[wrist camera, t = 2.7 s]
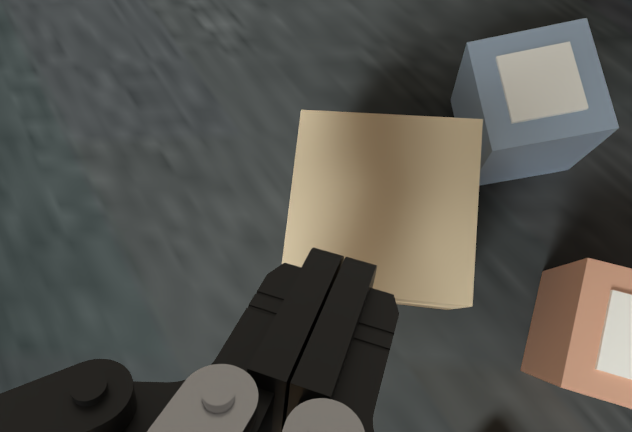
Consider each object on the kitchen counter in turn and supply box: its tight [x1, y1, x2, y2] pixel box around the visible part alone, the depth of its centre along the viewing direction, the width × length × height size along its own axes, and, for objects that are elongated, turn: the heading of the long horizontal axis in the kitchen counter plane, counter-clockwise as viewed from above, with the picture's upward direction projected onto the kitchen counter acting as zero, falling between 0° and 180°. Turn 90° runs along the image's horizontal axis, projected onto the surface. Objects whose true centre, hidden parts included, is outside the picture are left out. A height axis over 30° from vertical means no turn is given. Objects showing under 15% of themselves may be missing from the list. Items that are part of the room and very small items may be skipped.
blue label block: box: [451, 18, 619, 186], centre depth 24 cm, size 5×5×6 cm
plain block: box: [282, 110, 483, 310], centre depth 23 cm, size 7×7×8 cm
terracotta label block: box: [520, 258, 632, 409], centre depth 21 cm, size 5×5×6 cm
